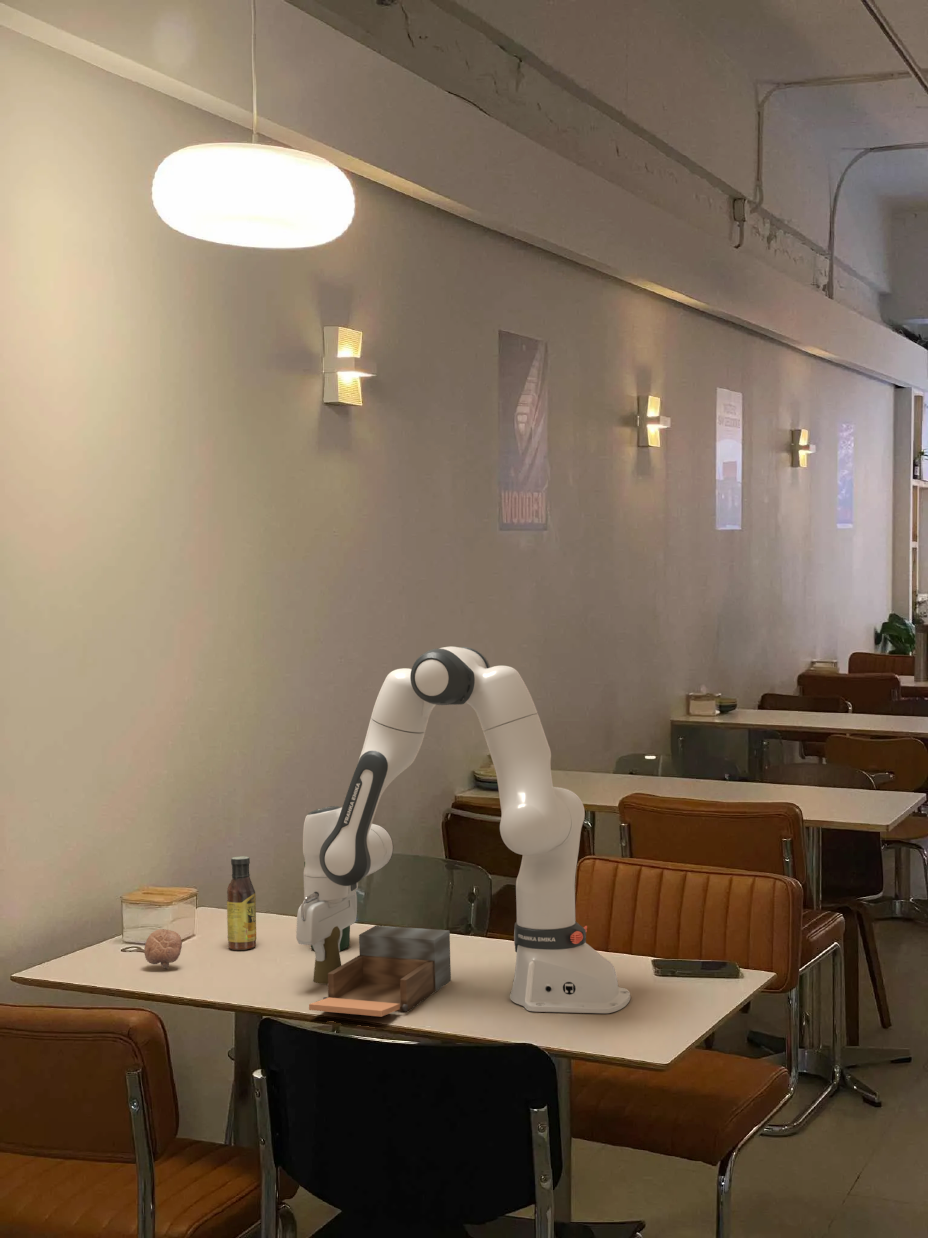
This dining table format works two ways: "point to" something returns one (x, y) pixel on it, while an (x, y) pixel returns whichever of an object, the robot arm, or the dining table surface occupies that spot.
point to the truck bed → (394, 967)
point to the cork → (328, 958)
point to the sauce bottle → (241, 906)
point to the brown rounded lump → (163, 947)
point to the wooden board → (354, 1006)
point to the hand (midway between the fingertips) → (327, 956)
